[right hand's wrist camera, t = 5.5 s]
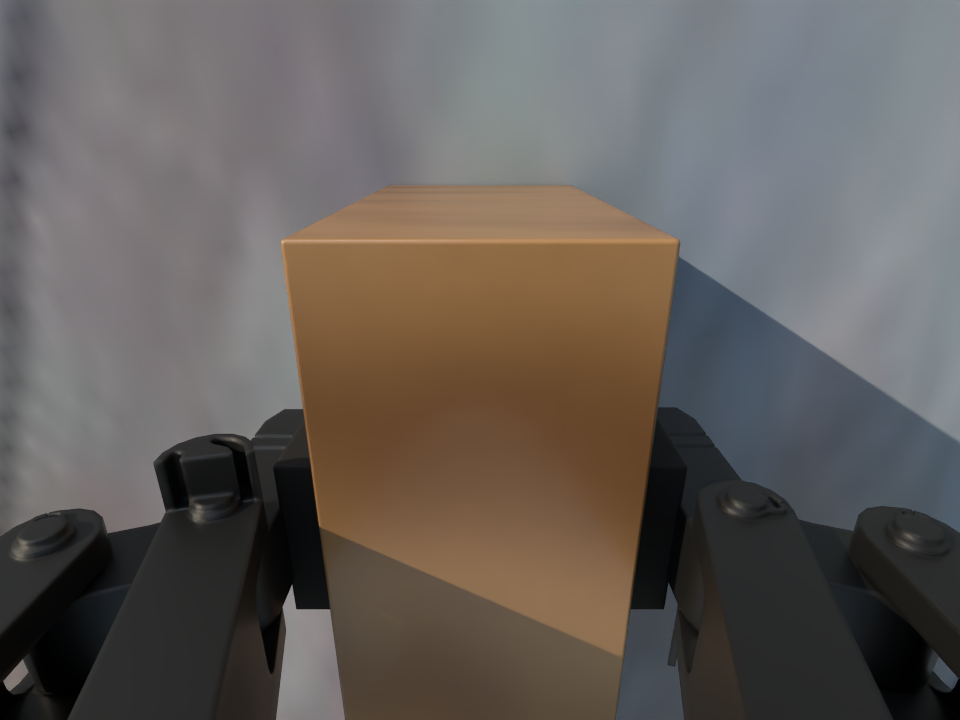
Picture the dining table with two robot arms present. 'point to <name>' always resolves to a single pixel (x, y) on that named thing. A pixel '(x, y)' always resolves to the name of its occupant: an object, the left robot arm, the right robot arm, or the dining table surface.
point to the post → (480, 442)
